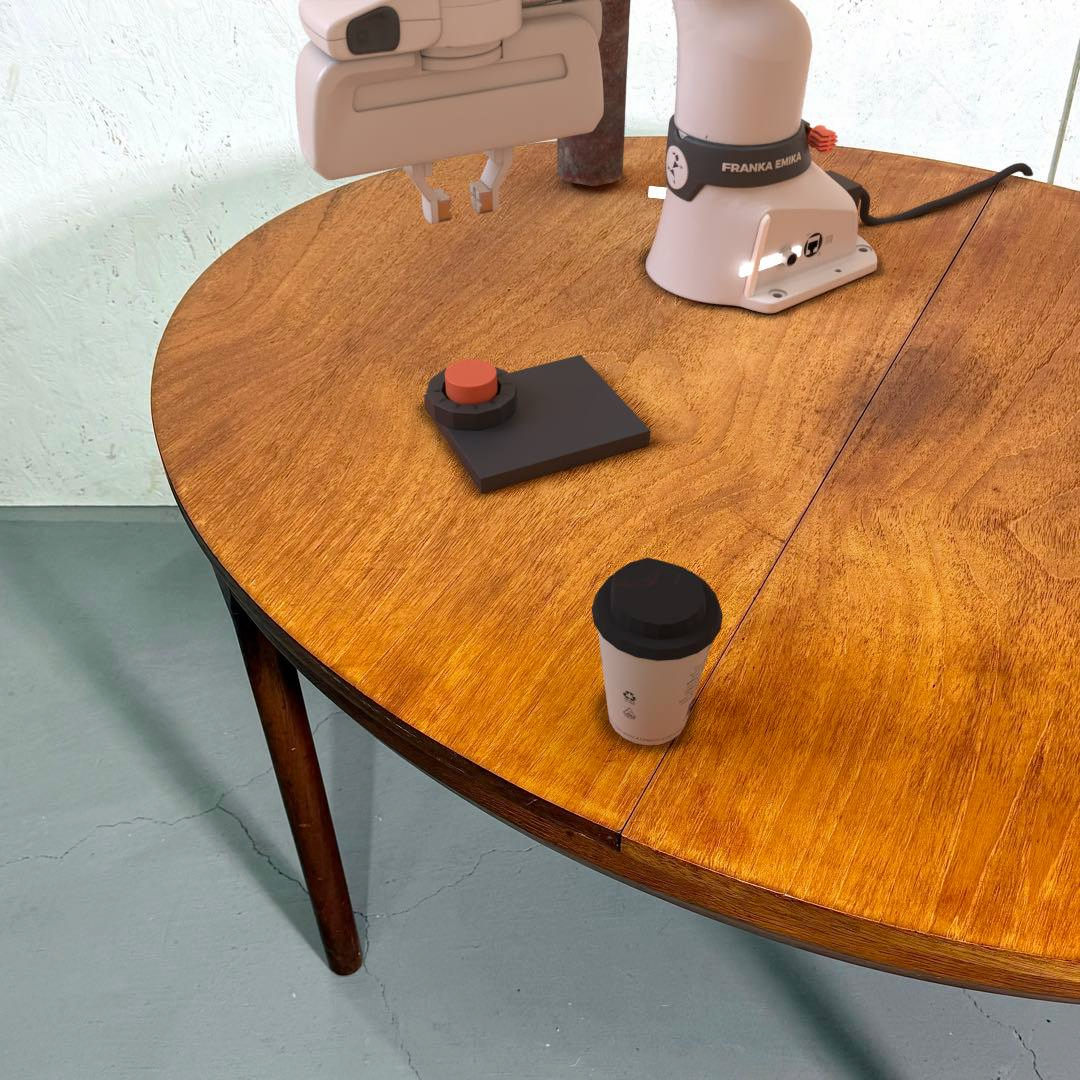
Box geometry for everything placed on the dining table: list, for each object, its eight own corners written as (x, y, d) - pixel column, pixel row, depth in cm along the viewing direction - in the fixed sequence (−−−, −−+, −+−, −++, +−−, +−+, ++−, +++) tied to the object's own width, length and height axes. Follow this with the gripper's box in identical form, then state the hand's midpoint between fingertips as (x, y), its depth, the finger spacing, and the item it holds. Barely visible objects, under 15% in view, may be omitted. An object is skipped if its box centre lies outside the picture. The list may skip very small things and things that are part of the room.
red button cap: (485, 372, 85) (484, 353, 84) (505, 398, 82) (504, 379, 81) (438, 384, 83) (437, 365, 82) (457, 410, 81) (455, 391, 80)
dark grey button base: (578, 366, 90) (578, 335, 88) (649, 445, 82) (652, 412, 80) (417, 407, 86) (414, 375, 84) (475, 495, 77) (473, 462, 75)
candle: (617, 198, 115) (625, -2, 102) (550, 193, 116) (551, -6, 103) (626, 170, 121) (636, -23, 108) (563, 165, 122) (565, -26, 109)
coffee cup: (731, 728, 61) (753, 606, 55) (633, 782, 58) (644, 660, 52) (659, 652, 66) (671, 531, 59) (564, 699, 63) (566, 577, 56)
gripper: (579, -36, 69) (576, 171, 79) (271, 4, 63) (306, 224, 72) (625, -12, 65) (616, 204, 74) (299, 33, 59) (333, 263, 68)
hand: (461, 214), depth 73 cm, fingers closed
